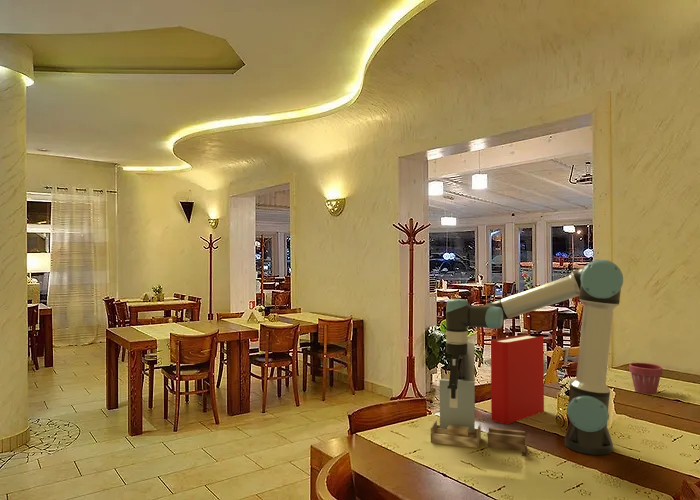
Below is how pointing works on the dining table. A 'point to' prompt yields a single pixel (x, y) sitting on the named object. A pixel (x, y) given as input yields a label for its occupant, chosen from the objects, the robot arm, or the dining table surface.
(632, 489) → the dining table surface
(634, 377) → the plant pot
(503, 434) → the stand
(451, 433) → the offcut
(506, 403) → the book
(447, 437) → the tray
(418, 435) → the dining table surface
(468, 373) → the tall grey block
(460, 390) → the grey panel
